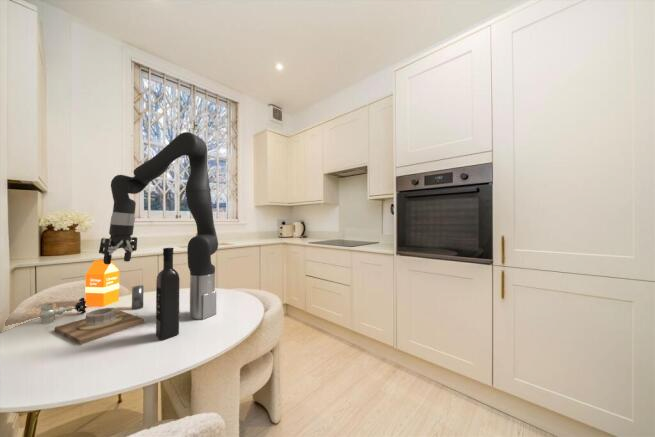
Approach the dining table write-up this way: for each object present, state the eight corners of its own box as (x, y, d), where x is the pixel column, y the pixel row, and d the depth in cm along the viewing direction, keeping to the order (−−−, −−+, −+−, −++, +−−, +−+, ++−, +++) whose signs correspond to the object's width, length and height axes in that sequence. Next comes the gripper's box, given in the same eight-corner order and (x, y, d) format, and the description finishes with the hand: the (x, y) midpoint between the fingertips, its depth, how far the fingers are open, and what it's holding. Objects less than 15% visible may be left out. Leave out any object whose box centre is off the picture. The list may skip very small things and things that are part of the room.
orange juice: (103, 306, 108) (103, 262, 108) (84, 305, 108) (85, 261, 108) (119, 300, 115) (119, 259, 115) (102, 300, 116) (102, 258, 116)
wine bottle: (161, 341, 78) (162, 249, 78) (154, 336, 82) (155, 248, 82) (180, 334, 83) (180, 248, 83) (173, 329, 86) (174, 246, 86)
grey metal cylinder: (145, 307, 107) (145, 286, 107) (134, 310, 104) (135, 288, 104) (140, 305, 109) (140, 285, 109) (129, 308, 105) (130, 287, 105)
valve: (41, 326, 88) (86, 315, 99) (41, 308, 88) (86, 299, 99) (37, 321, 92) (81, 311, 102) (38, 304, 92) (81, 296, 102)
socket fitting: (144, 322, 92) (144, 308, 92) (80, 344, 76) (80, 327, 76) (117, 313, 100) (117, 300, 100) (54, 331, 84) (54, 315, 84)
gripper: (114, 224, 92) (109, 266, 92) (145, 224, 106) (140, 261, 106) (96, 222, 93) (90, 264, 92) (129, 223, 107) (124, 259, 106)
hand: (117, 262), depth 99 cm, fingers open, 8 cm apart
